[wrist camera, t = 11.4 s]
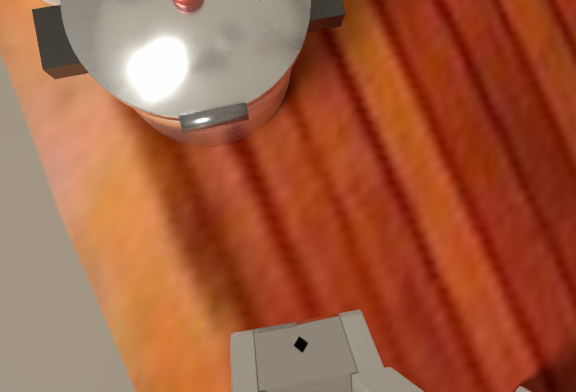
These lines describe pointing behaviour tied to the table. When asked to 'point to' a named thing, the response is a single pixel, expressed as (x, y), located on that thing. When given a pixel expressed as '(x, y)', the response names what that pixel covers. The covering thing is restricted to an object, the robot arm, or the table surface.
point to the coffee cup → (53, 2)
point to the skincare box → (522, 389)
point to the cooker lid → (188, 53)
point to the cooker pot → (65, 63)
